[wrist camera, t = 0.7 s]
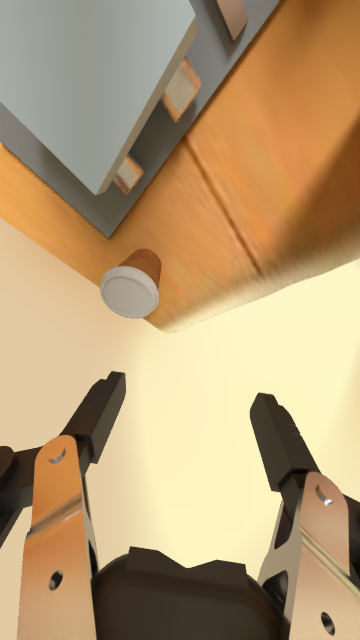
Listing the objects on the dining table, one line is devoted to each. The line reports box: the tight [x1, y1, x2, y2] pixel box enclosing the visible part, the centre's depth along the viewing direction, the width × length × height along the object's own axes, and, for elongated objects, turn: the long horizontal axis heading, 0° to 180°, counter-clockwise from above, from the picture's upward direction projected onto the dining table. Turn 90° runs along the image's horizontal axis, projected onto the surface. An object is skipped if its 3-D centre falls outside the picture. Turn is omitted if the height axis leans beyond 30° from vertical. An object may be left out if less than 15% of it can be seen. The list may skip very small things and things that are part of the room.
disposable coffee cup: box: [100, 249, 161, 318], centre depth 32 cm, size 10×10×12 cm
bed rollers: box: [112, 53, 203, 196], centre depth 18 cm, size 16×14×4 cm
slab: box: [0, 0, 197, 196], centre depth 15 cm, size 12×16×3 cm
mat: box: [0, 0, 281, 239], centre depth 18 cm, size 18×38×1 cm, turn 134°
